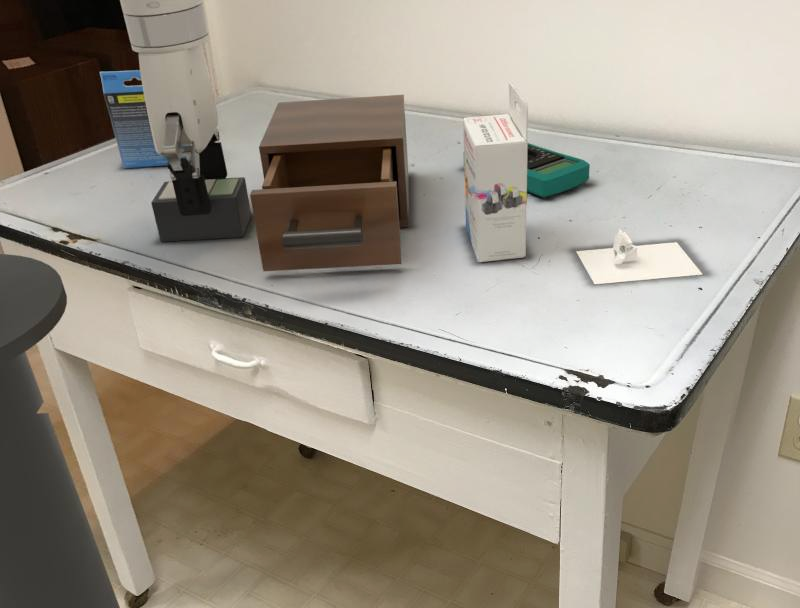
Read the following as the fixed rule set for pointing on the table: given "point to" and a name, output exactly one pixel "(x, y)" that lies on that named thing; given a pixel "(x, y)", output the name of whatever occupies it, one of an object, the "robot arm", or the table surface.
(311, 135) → the cabinet
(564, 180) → the digital multimeter
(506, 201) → the ink box
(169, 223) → the grey rectangular box
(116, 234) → the table surface
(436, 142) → the table surface
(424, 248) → the table surface
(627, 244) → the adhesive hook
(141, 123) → the label tape box
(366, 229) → the drawer
